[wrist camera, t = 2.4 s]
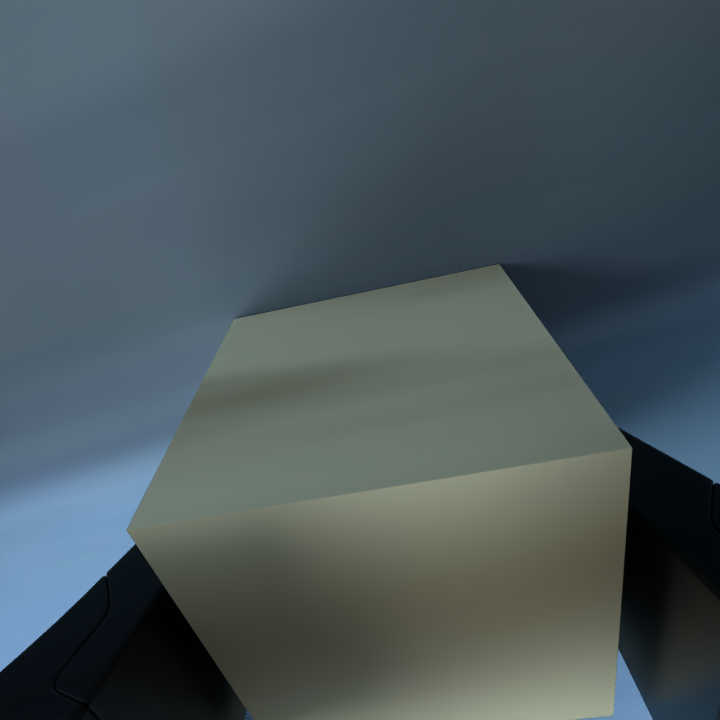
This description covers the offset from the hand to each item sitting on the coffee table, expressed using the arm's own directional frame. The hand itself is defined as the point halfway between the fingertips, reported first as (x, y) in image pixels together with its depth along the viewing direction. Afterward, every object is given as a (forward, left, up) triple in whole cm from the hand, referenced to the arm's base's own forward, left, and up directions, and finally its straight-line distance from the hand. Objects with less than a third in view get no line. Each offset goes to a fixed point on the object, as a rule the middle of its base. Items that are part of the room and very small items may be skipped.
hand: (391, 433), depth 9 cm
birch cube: (0, 0, -1) cm, 1 cm away
